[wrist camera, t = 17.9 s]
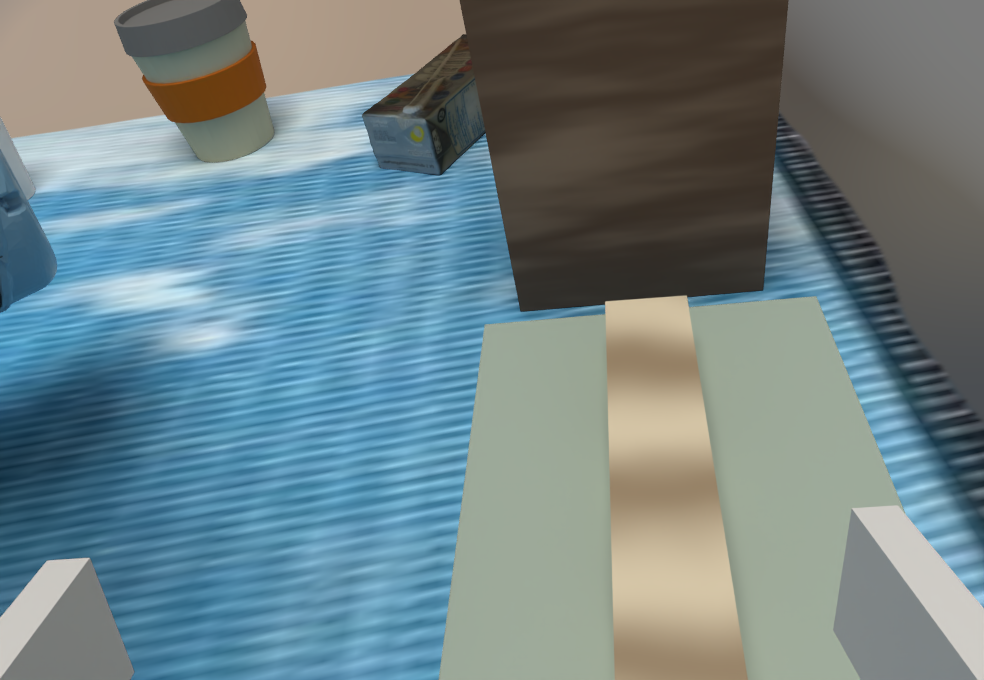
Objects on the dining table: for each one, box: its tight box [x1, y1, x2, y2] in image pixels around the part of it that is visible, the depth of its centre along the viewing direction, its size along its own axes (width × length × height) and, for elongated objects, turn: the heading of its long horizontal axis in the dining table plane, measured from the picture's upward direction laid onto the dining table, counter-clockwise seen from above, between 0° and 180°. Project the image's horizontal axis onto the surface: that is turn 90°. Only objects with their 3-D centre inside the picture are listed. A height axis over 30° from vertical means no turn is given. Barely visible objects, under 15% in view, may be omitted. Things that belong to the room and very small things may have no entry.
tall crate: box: [460, 0, 788, 311], centre depth 44 cm, size 14×16×30 cm
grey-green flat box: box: [439, 296, 906, 680], centre depth 33 cm, size 22×18×5 cm
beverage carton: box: [362, 34, 485, 175], centre depth 72 cm, size 8×19×7 cm, turn 150°
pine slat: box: [605, 295, 748, 680], centre depth 28 cm, size 24×4×3 cm, turn 174°
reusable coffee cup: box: [114, 0, 274, 162], centre depth 76 cm, size 13×12×15 cm
